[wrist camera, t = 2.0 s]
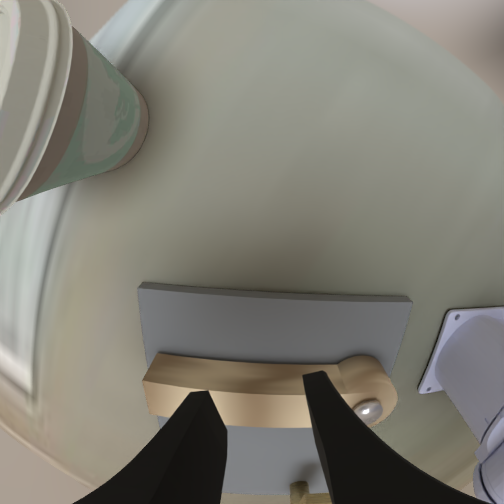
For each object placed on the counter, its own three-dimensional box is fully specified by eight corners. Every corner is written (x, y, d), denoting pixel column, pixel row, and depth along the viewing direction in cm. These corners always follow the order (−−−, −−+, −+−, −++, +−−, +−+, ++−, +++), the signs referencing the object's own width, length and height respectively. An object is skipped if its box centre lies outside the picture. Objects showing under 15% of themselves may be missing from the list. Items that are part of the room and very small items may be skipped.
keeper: (301, 459, 21) (306, 504, 16) (326, 459, 21) (334, 503, 16) (285, 488, 23) (287, 527, 18) (307, 488, 23) (311, 526, 18)
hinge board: (406, 296, 18) (412, 302, 17) (332, 485, 24) (333, 491, 23) (143, 282, 18) (137, 287, 17) (177, 479, 24) (176, 485, 24)
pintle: (385, 398, 15) (387, 402, 14) (375, 419, 15) (377, 424, 15) (355, 401, 15) (357, 405, 14) (347, 422, 15) (348, 427, 15)
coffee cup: (164, 195, 17) (11, 246, 5) (54, 191, 17) (-89, 226, 5) (180, 59, 14) (77, -60, 3) (68, 73, 14) (-61, 32, 3)
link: (390, 353, 18) (406, 380, 15) (373, 400, 19) (385, 427, 16) (155, 344, 18) (140, 371, 15) (162, 392, 19) (151, 420, 16)
